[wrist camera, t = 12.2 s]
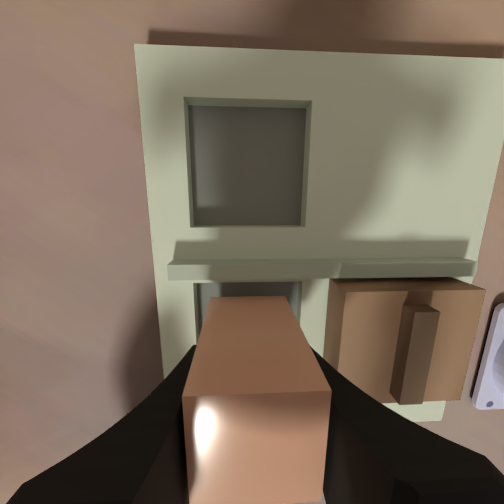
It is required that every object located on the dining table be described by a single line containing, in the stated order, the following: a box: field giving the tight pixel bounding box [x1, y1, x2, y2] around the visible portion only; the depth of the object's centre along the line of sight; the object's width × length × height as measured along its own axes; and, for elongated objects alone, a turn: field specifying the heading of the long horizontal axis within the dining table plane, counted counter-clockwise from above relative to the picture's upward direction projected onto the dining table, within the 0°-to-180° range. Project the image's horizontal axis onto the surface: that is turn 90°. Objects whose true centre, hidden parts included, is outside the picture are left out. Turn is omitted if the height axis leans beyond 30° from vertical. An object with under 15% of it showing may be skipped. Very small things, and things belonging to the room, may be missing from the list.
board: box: [134, 44, 504, 422], centre depth 13 cm, size 18×21×2 cm
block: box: [182, 296, 332, 504], centre depth 10 cm, size 4×4×6 cm
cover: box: [323, 277, 486, 405], centre depth 12 cm, size 7×6×3 cm
